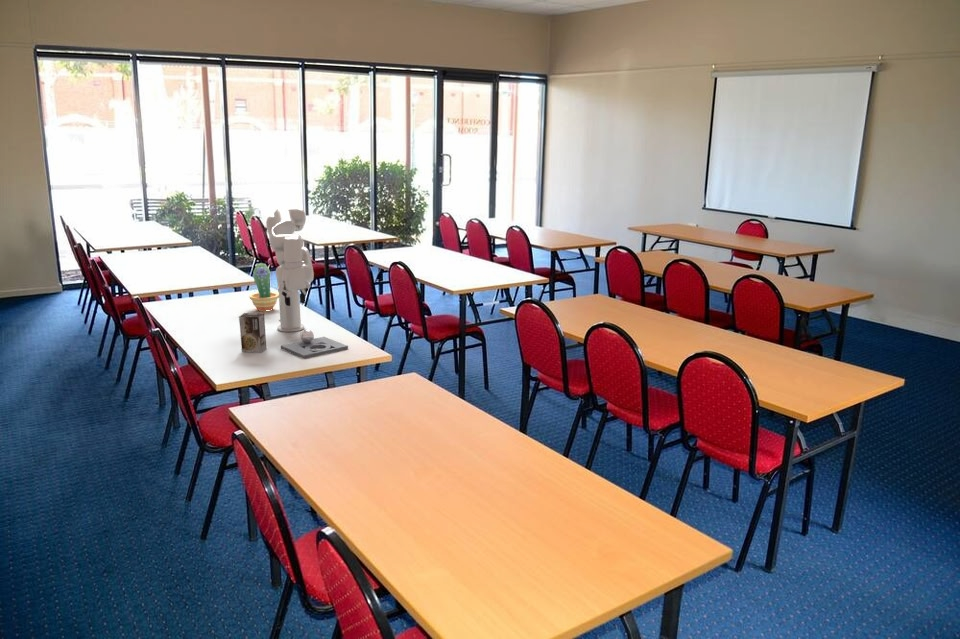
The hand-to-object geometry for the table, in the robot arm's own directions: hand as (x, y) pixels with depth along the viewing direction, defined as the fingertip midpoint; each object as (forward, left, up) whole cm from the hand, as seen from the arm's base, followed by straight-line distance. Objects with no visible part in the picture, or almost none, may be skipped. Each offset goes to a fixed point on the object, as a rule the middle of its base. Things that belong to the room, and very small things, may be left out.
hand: (295, 303), depth 330 cm
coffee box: (0, -21, -18) cm, 28 cm away
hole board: (+15, 0, -18) cm, 23 cm away
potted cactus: (-66, +18, -18) cm, 71 cm away
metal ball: (+9, 0, -13) cm, 16 cm away
